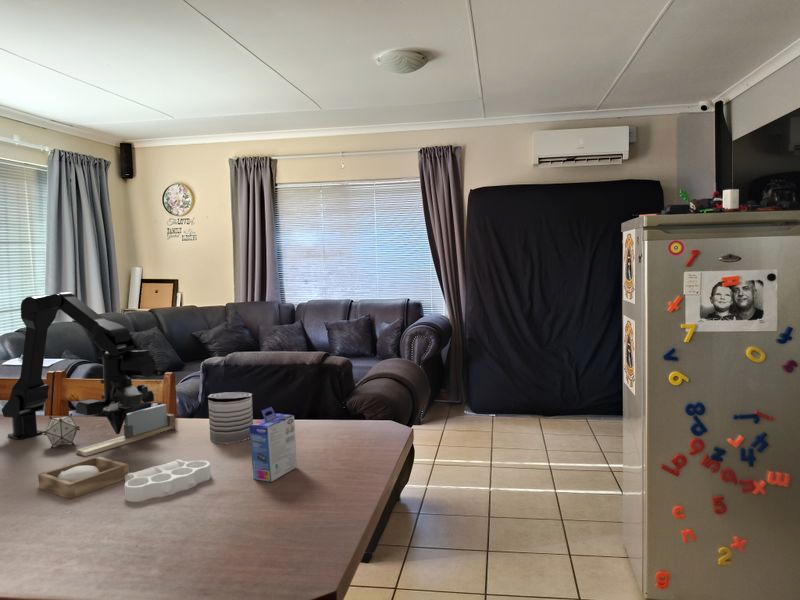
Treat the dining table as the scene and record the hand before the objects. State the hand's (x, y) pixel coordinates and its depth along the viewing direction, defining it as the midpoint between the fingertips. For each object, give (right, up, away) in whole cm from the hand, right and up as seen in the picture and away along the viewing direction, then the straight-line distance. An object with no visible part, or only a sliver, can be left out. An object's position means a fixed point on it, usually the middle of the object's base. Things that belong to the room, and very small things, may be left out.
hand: (117, 433), depth 154 cm
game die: (-14, -3, 0) cm, 15 cm away
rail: (+2, -2, +3) cm, 4 cm away
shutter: (+5, -1, +7) cm, 9 cm away
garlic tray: (+6, -5, -27) cm, 28 cm away
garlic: (+5, -5, -27) cm, 28 cm away
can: (+29, -2, +3) cm, 29 cm away
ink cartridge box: (+46, -4, -24) cm, 52 cm away
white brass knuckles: (+24, -5, -29) cm, 38 cm away
